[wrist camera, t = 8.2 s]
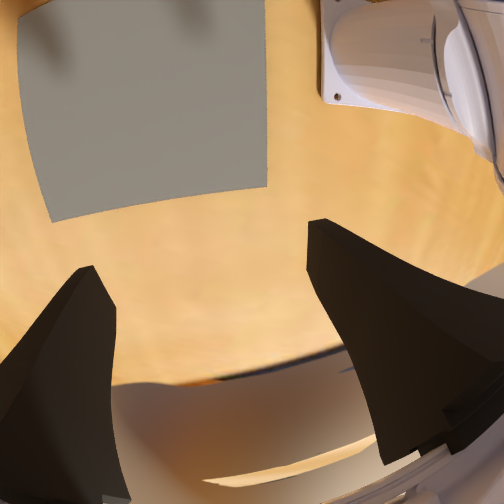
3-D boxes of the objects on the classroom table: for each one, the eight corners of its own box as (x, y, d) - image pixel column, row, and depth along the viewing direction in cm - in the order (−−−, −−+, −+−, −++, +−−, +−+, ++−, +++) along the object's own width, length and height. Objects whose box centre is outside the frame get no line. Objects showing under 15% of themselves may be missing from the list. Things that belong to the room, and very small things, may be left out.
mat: (261, -35, 9) (263, -37, 8) (265, 184, 18) (267, 186, 17) (20, 18, 6) (17, 18, 6) (54, 219, 15) (52, 222, 15)
